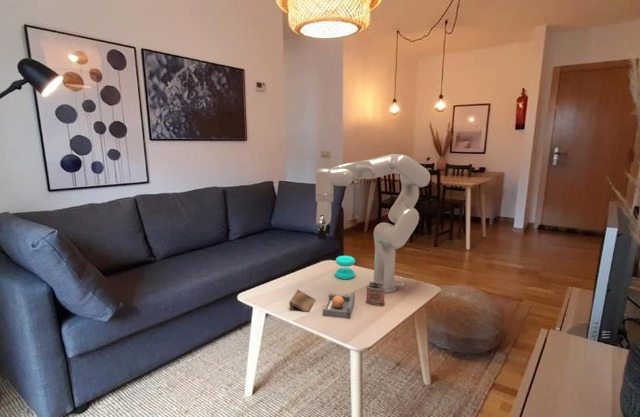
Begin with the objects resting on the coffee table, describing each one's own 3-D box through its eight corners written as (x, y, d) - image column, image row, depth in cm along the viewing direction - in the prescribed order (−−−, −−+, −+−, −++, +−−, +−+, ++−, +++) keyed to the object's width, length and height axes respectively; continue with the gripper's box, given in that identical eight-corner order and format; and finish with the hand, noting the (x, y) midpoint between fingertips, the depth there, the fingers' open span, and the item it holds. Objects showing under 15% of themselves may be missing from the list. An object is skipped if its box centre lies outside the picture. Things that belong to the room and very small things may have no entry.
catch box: (354, 301, 154) (354, 292, 153) (350, 318, 139) (350, 308, 138) (329, 299, 156) (329, 290, 155) (322, 315, 141) (322, 305, 141)
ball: (330, 298, 151) (339, 291, 149) (338, 307, 150) (347, 300, 149) (328, 302, 146) (337, 295, 145) (336, 311, 145) (345, 304, 144)
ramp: (315, 301, 156) (315, 291, 155) (309, 314, 144) (309, 303, 143) (296, 299, 157) (296, 289, 157) (289, 312, 146) (289, 301, 145)
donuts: (337, 254, 187) (356, 255, 184) (337, 272, 189) (355, 273, 186) (334, 260, 177) (353, 262, 175) (333, 279, 179) (353, 281, 177)
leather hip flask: (365, 303, 152) (365, 281, 150) (366, 300, 155) (367, 279, 153) (383, 306, 149) (384, 284, 148) (385, 303, 153) (386, 281, 151)
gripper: (320, 194, 159) (320, 231, 163) (311, 200, 143) (311, 241, 146) (336, 194, 158) (336, 231, 161) (329, 201, 141) (329, 242, 144)
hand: (324, 236), depth 153 cm, fingers open, 9 cm apart
